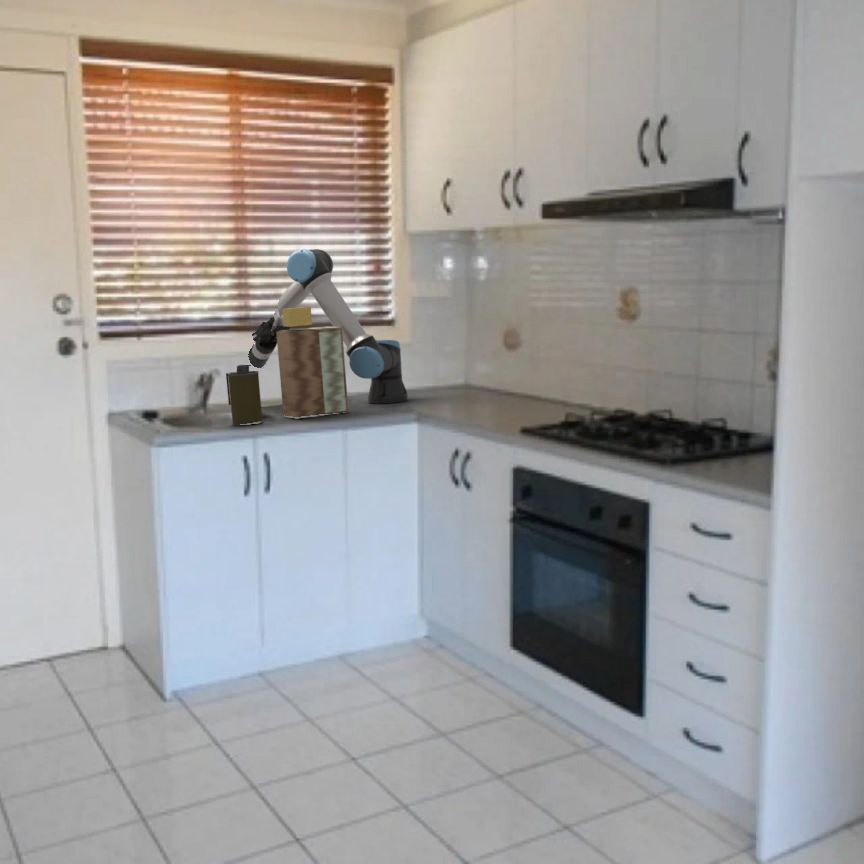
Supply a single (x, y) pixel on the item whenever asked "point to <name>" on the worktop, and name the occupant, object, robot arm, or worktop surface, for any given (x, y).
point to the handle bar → (295, 317)
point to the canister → (244, 395)
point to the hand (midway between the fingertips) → (282, 313)
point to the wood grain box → (312, 371)
